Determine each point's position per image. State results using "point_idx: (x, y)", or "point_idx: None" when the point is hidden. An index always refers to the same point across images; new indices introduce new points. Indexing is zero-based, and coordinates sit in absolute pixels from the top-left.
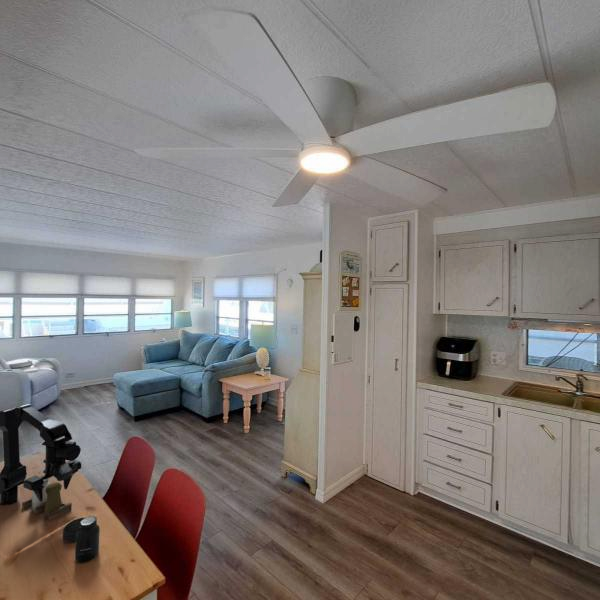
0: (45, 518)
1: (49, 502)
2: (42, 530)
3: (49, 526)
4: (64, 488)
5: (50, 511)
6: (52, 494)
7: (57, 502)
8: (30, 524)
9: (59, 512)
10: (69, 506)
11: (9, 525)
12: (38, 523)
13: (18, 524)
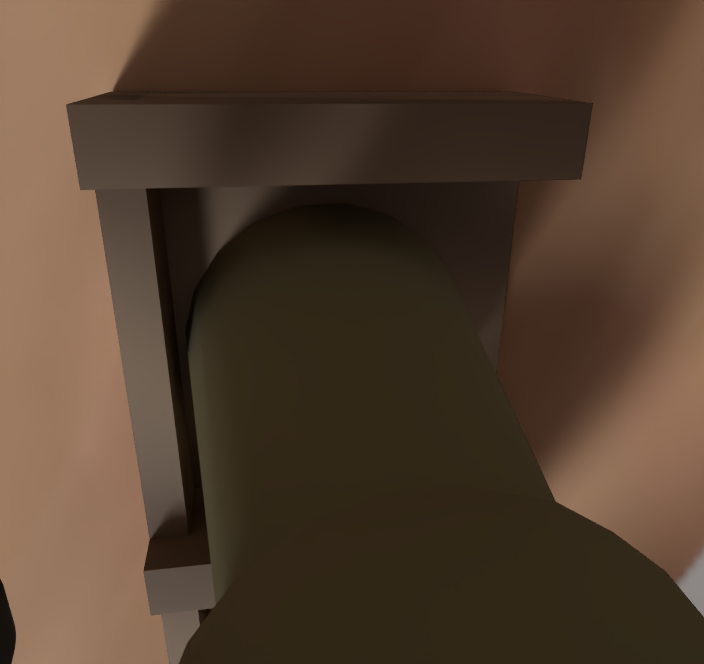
0: (501, 254)
1: (511, 411)
2: (683, 4)
3: (573, 2)
4: (9, 651)
5: (447, 284)
6: (578, 516)
7: (356, 306)
8: (614, 343)
9: (372, 97)
10: (135, 99)
11: (688, 529)
12: (568, 267)
13: (651, 469)
